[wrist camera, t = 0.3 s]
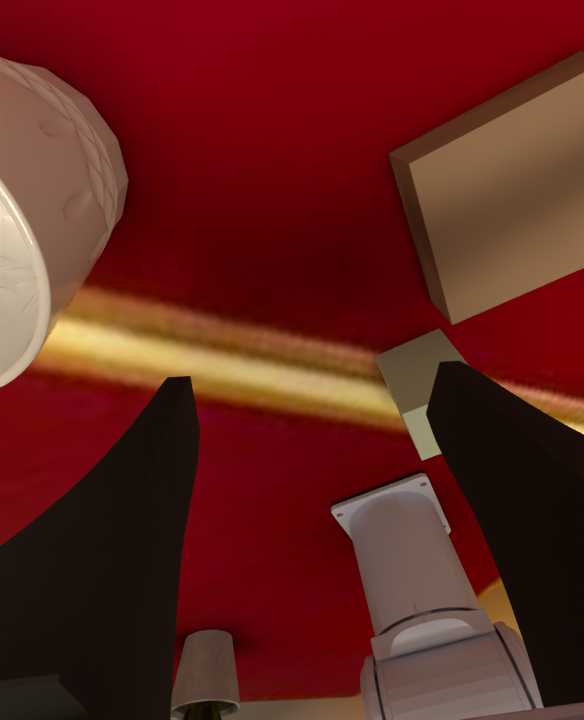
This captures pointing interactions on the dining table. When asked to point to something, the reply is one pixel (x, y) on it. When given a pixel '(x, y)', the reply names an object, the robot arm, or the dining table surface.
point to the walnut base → (499, 193)
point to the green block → (416, 383)
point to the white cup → (49, 204)
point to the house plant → (206, 678)
